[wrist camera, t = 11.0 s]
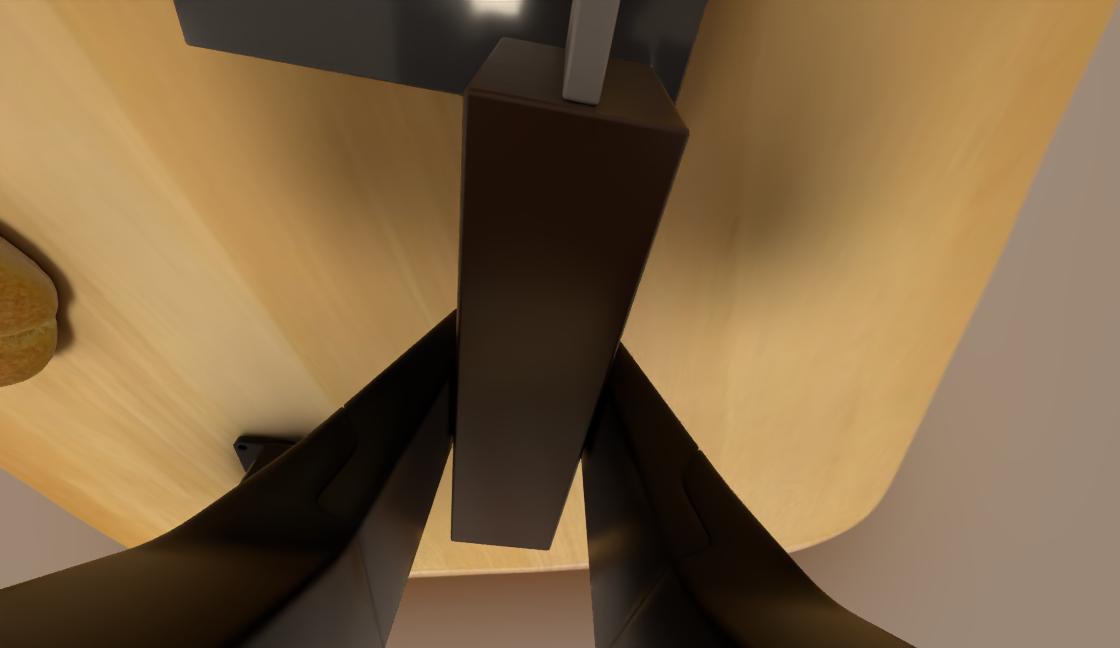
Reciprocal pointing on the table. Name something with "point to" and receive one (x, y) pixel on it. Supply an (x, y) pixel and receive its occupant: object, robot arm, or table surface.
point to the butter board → (430, 34)
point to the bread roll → (25, 316)
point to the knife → (548, 263)
